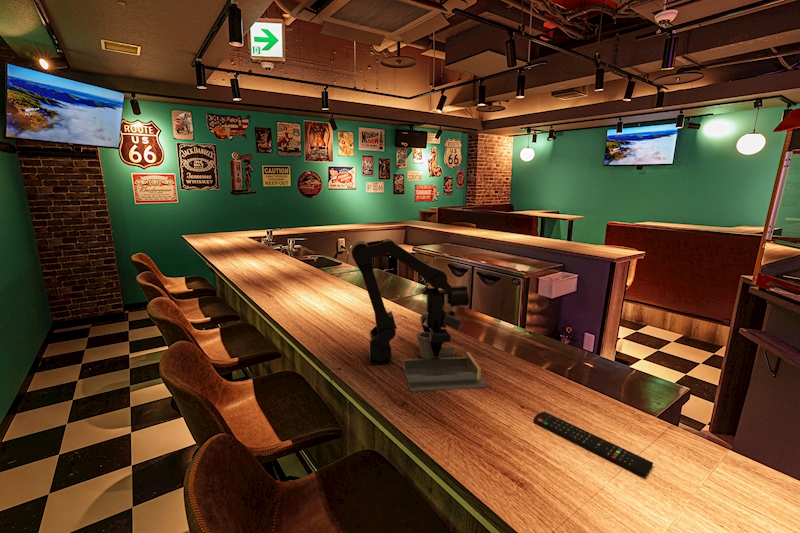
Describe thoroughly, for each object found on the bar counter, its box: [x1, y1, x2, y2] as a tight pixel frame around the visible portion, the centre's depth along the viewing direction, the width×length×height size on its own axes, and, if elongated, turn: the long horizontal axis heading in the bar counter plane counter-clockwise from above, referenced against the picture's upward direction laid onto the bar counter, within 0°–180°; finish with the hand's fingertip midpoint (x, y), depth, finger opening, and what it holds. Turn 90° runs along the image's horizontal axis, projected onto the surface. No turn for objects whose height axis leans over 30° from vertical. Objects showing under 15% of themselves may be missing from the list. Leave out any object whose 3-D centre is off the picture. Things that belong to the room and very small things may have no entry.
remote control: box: [533, 410, 654, 479], centre depth 83 cm, size 5×24×1 cm, turn 42°
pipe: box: [416, 331, 456, 359], centre depth 123 cm, size 6×13×8 cm, turn 78°
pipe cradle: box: [402, 351, 488, 392], centre depth 111 cm, size 22×14×5 cm, turn 97°
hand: (433, 352), depth 123 cm, fingers open, 7 cm apart
